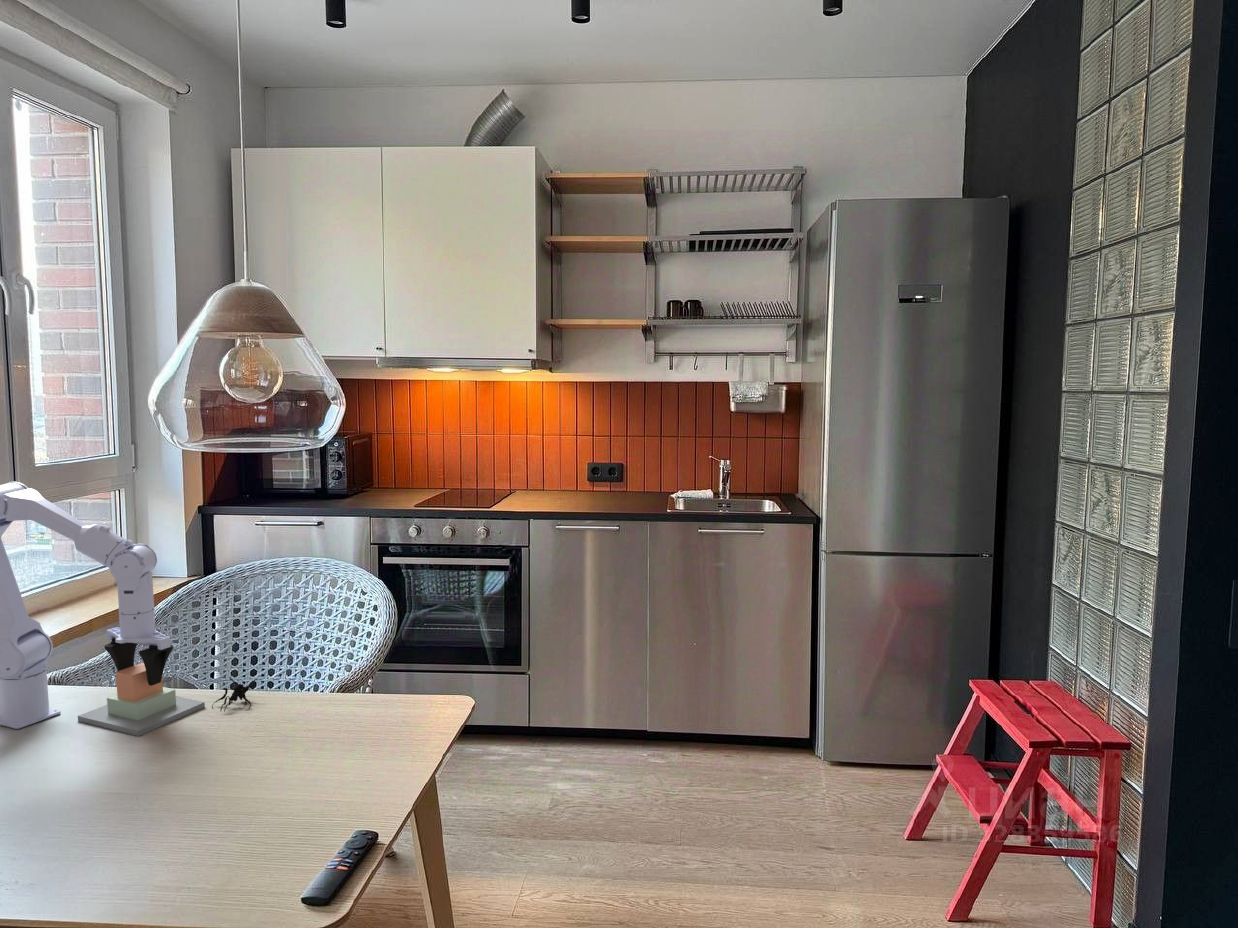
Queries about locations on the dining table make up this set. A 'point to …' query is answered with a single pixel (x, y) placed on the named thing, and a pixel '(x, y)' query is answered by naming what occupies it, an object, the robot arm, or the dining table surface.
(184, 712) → the tower base
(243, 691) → the creature
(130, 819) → the dining table surface
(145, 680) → the top brick
